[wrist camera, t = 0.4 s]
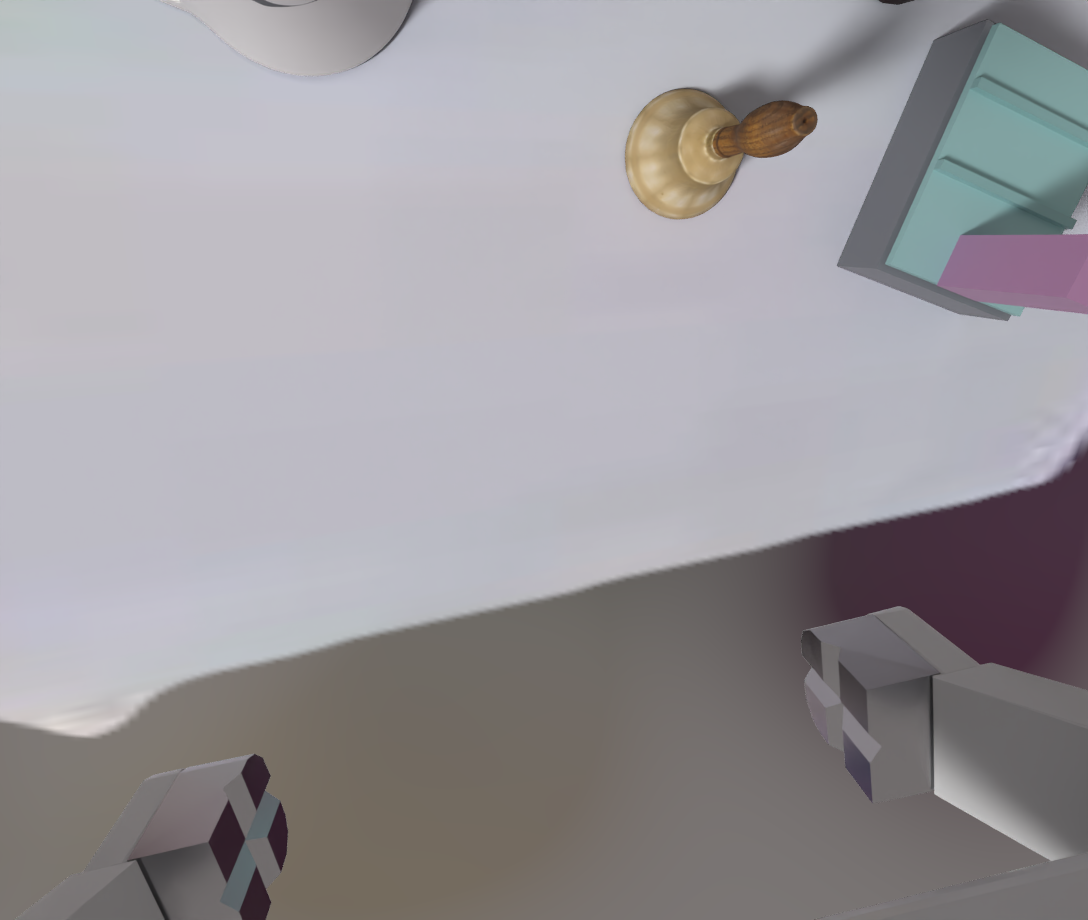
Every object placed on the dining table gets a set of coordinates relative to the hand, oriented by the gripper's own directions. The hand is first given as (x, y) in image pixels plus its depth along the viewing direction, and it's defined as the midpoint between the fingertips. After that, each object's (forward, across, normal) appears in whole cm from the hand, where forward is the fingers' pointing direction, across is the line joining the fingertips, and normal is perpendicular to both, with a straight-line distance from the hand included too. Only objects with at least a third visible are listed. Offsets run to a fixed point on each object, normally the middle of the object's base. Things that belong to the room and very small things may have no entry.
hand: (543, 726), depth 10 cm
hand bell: (+41, -16, -11) cm, 45 cm away
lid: (+37, -37, -5) cm, 52 cm away
